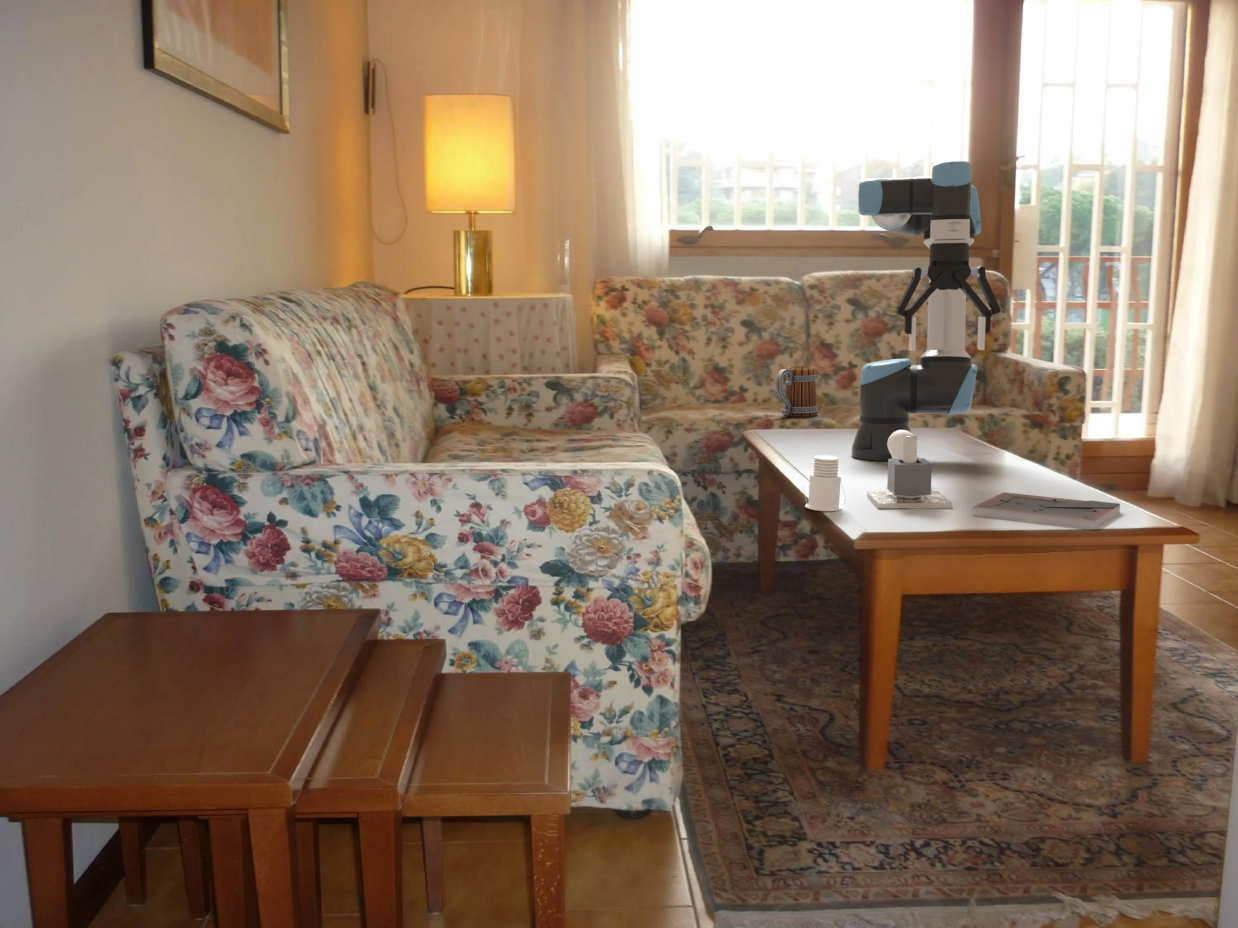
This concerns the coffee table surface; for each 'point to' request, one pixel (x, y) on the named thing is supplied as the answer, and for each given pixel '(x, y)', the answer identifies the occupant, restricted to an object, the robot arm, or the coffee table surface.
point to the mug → (798, 391)
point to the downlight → (824, 485)
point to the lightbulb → (897, 443)
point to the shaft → (909, 501)
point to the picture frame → (1047, 510)
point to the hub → (909, 477)
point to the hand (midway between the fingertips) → (946, 350)
